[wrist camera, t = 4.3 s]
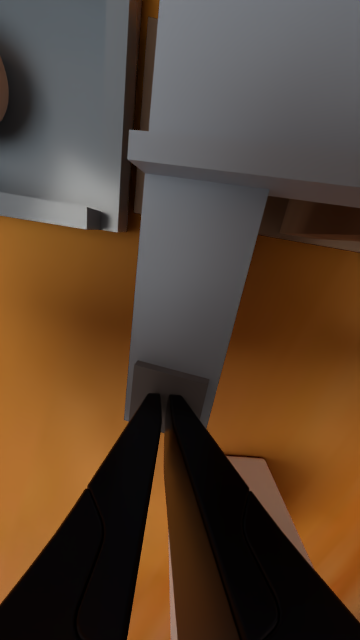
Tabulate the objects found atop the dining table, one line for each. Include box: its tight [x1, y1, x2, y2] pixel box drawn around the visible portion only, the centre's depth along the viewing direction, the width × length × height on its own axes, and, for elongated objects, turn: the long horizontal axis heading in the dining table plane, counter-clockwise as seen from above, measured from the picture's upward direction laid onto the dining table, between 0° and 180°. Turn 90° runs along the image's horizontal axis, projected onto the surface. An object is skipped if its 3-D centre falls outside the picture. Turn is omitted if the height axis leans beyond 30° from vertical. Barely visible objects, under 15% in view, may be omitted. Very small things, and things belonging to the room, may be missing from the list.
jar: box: [168, 456, 314, 640], centre depth 12 cm, size 9×8×12 cm
